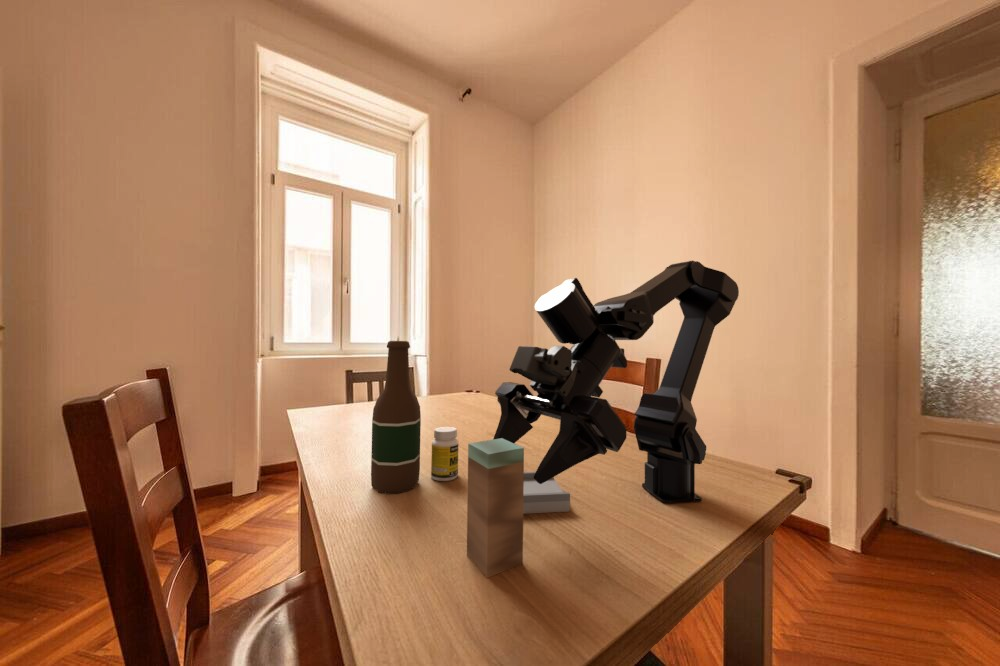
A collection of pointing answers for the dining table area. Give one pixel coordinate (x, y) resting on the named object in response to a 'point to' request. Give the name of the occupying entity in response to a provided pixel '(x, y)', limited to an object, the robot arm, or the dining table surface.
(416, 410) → the beer bottle
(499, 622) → the dining table surface
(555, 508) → the tray
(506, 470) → the green-topped wooden block
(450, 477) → the supplement bottle
